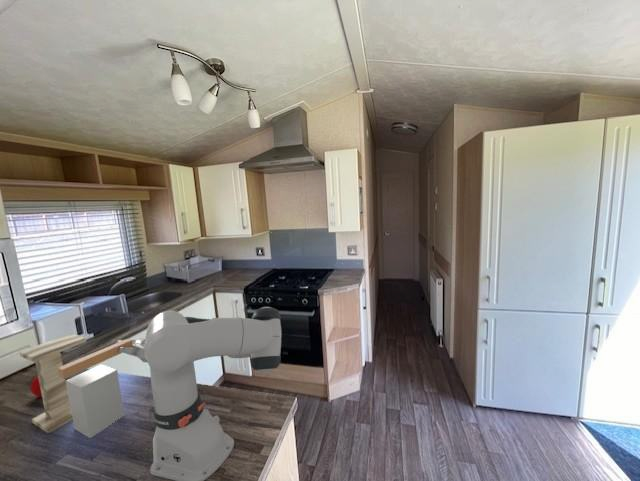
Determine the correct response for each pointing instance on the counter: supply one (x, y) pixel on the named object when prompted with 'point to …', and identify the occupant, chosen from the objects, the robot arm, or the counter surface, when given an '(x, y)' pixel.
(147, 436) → the counter surface
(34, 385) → the fruit
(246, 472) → the counter surface
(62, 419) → the tall stand
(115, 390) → the pedestal
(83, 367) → the bar
